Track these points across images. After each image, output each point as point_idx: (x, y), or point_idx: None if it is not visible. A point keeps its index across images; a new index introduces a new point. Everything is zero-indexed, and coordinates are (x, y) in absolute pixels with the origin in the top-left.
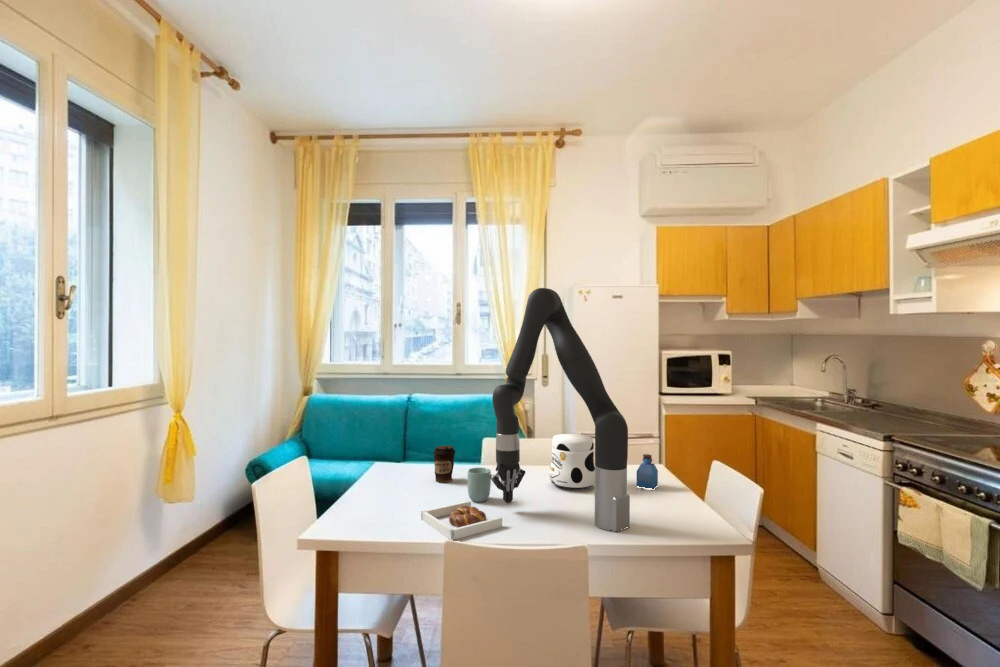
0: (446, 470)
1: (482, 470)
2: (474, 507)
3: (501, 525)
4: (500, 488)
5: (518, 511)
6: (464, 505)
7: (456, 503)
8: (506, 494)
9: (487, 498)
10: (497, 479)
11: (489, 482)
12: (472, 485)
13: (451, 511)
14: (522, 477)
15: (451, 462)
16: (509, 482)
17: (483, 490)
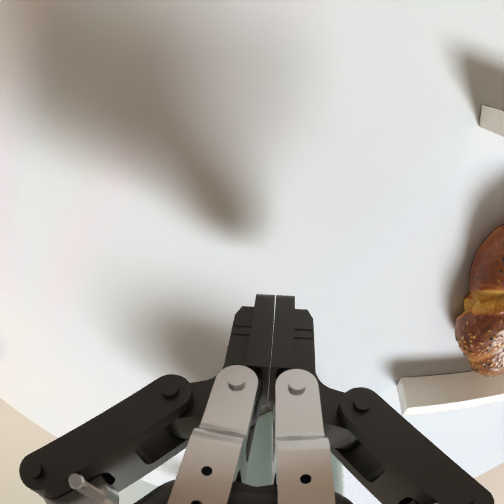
0: None
1: None
2: (501, 336)
3: (490, 108)
4: (388, 414)
5: (215, 236)
6: (437, 394)
7: (462, 407)
8: (305, 355)
9: (268, 414)
10: (453, 498)
11: (258, 480)
12: (342, 482)
13: (484, 377)
14: (72, 436)
15: None
16: (288, 454)
17: None
